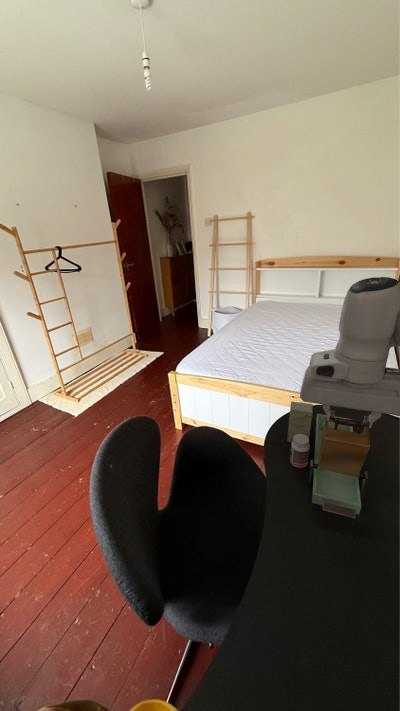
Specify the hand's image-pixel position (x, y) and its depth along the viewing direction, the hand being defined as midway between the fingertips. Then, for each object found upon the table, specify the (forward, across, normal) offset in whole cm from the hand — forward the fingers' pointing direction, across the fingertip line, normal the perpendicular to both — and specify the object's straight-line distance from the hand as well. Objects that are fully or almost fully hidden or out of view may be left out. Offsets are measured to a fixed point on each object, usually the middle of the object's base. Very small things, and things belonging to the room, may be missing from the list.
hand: (347, 422), depth 63 cm
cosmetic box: (+22, +10, -18) cm, 31 cm away
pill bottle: (+23, +9, -9) cm, 26 cm away
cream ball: (+20, +2, -24) cm, 31 cm away
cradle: (+22, 0, +3) cm, 23 cm away
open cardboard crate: (+8, 0, +1) cm, 8 cm away
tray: (+22, 0, -13) cm, 26 cm away
